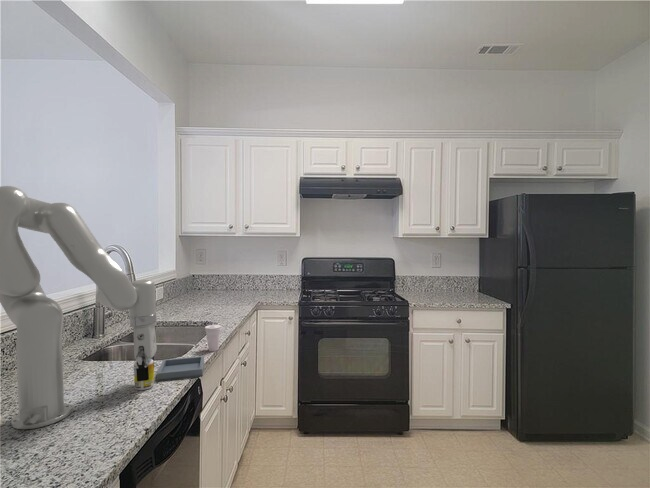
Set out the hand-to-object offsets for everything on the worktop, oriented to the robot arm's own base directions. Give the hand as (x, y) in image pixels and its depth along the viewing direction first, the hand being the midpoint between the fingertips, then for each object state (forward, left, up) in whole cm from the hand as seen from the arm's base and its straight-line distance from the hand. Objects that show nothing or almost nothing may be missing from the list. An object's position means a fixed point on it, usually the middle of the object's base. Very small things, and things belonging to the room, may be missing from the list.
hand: (146, 374), depth 120 cm
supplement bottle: (0, +1, -4) cm, 4 cm away
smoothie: (+33, -19, -4) cm, 38 cm away
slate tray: (+11, -9, -4) cm, 15 cm away
